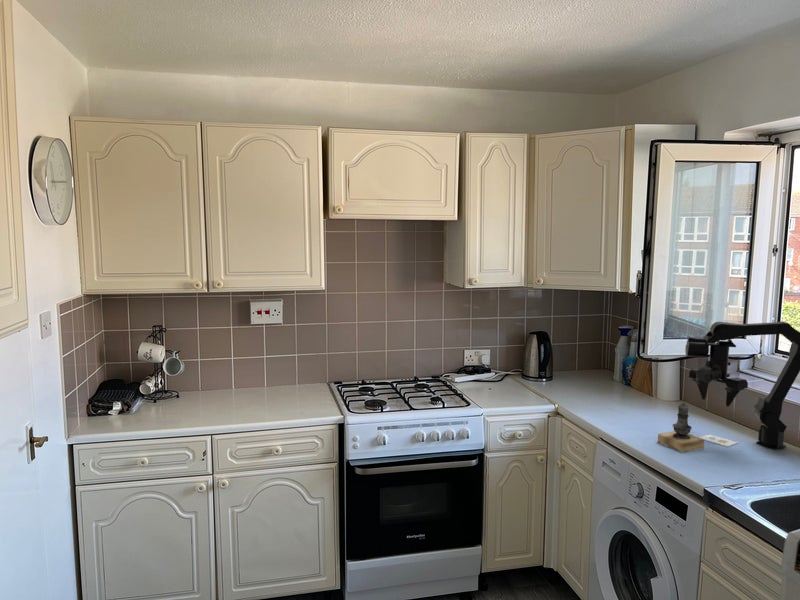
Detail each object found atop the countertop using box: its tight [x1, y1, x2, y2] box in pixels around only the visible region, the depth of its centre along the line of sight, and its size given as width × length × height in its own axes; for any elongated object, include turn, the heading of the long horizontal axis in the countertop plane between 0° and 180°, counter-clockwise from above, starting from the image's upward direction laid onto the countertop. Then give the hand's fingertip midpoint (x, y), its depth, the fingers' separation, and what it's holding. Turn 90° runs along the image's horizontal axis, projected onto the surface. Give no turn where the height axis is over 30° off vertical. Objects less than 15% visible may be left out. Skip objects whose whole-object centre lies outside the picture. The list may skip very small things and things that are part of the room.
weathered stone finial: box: [672, 401, 693, 439], centre depth 195 cm, size 6×6×12 cm
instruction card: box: [698, 434, 739, 448], centre depth 200 cm, size 10×7×1 cm
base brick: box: [657, 430, 705, 453], centre depth 195 cm, size 10×10×3 cm
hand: (715, 402), depth 201 cm, fingers open, 9 cm apart
